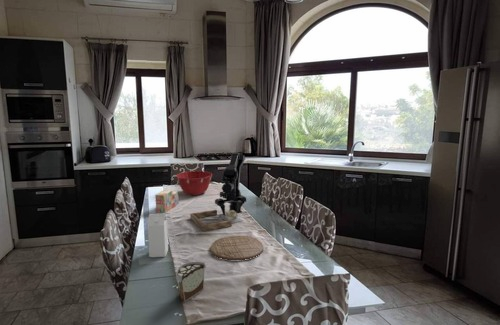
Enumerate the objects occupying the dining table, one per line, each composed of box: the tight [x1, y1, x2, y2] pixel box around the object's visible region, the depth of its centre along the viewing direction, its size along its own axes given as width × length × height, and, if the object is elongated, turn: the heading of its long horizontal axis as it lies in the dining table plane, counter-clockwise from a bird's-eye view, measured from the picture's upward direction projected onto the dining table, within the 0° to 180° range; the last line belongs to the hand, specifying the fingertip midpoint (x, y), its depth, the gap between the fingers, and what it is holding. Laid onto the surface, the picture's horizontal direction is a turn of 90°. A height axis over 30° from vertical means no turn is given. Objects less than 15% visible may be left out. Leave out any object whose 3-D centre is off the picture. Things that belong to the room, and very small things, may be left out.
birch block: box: [225, 209, 238, 220], centre depth 190 cm, size 5×5×4 cm
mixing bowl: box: [175, 170, 213, 196], centre depth 250 cm, size 28×28×16 cm
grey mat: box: [219, 214, 244, 224], centre depth 191 cm, size 9×15×1 cm, turn 27°
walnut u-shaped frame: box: [189, 209, 233, 232], centre depth 184 cm, size 17×24×3 cm
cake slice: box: [175, 261, 206, 303], centre depth 111 cm, size 12×6×10 cm, turn 145°
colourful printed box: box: [155, 189, 180, 214], centre depth 211 cm, size 21×6×12 cm, turn 169°
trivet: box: [210, 235, 264, 261], centre depth 148 cm, size 25×25×2 cm
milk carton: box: [147, 213, 169, 258], centre depth 141 cm, size 7×7×19 cm
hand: (231, 213), depth 190 cm, fingers open, 9 cm apart
